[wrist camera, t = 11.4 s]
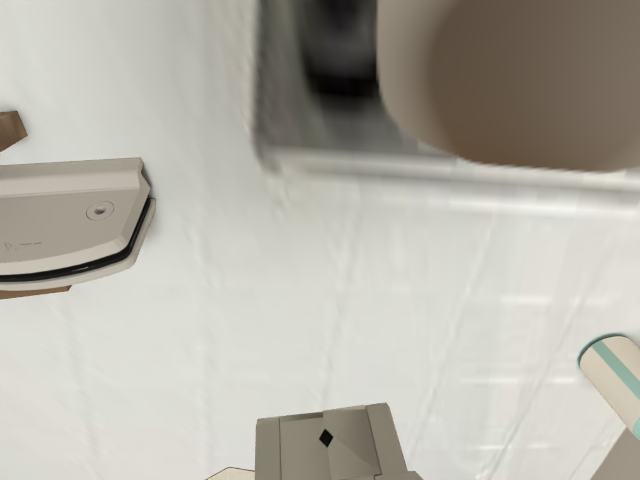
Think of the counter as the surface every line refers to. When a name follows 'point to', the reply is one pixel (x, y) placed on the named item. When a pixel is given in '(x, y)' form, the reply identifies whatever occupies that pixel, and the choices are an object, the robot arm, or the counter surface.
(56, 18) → the counter surface
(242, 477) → the jar
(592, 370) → the can
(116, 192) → the white curved block
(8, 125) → the frame
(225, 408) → the counter surface
